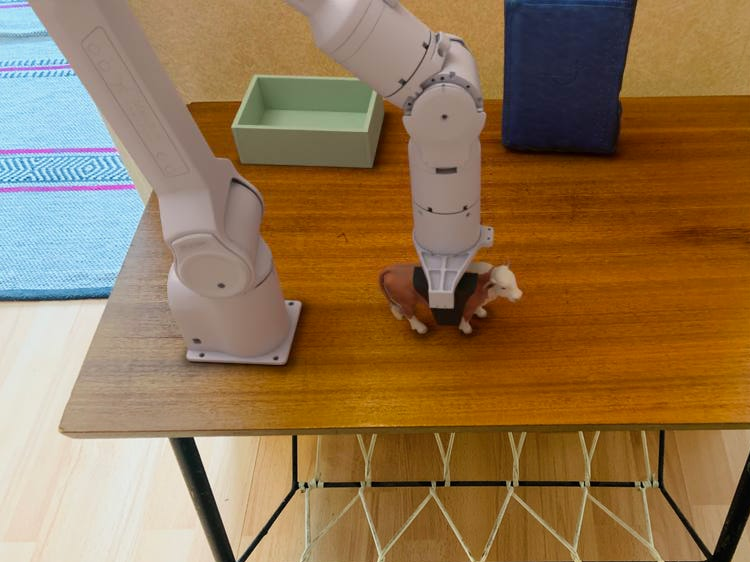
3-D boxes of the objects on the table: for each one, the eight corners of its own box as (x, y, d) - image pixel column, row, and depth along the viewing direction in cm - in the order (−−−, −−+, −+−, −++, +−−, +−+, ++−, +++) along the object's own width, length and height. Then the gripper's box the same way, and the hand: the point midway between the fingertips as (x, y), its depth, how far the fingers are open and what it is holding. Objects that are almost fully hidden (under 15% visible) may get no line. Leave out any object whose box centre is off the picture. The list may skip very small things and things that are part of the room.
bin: (241, 163, 92) (230, 127, 88) (262, 110, 99) (253, 74, 95) (372, 168, 92) (367, 131, 88) (384, 114, 99) (380, 78, 95)
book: (616, 135, 96) (643, -29, 80) (618, 162, 93) (647, -5, 77) (501, 130, 97) (505, -34, 81) (498, 156, 93) (503, -10, 78)
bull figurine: (518, 346, 74) (522, 284, 68) (380, 332, 75) (372, 270, 69) (522, 313, 77) (526, 251, 71) (389, 300, 78) (382, 238, 72)
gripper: (490, 254, 59) (488, 365, 70) (497, 141, 68) (494, 254, 79) (398, 250, 59) (410, 362, 70) (418, 138, 69) (425, 252, 79)
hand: (450, 305), depth 74 cm, fingers closed on bull figurine, 4 cm apart
